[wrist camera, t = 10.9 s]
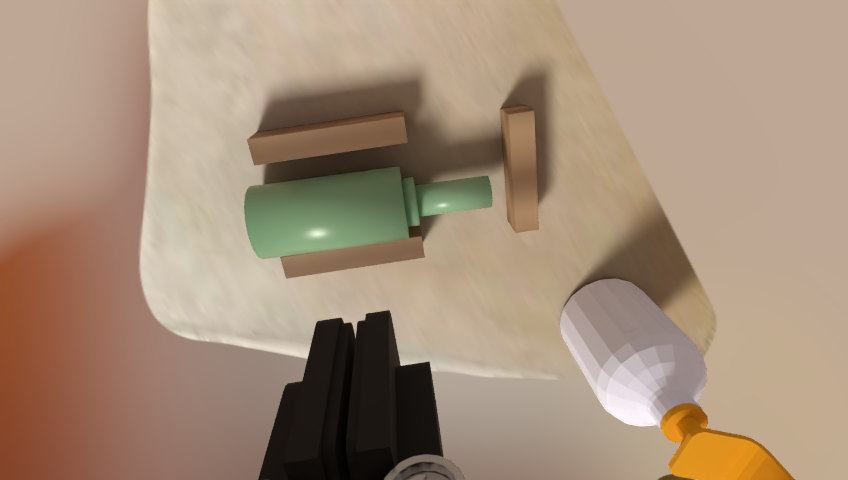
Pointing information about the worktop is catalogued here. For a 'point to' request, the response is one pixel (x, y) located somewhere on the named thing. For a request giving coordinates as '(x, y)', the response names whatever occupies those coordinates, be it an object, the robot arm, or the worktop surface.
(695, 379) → the soap bottle
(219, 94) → the worktop surface
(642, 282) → the worktop surface
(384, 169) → the bottle
